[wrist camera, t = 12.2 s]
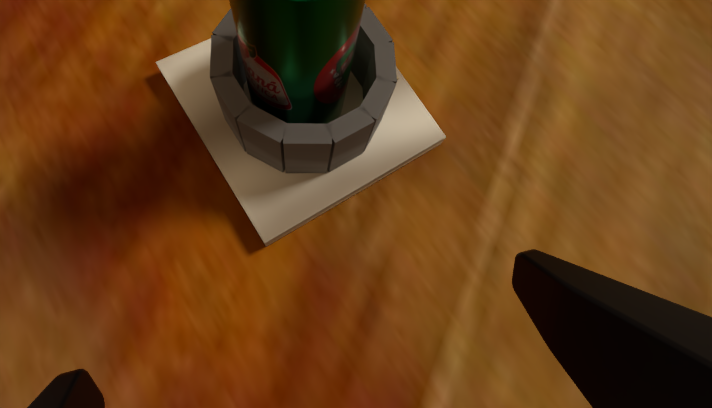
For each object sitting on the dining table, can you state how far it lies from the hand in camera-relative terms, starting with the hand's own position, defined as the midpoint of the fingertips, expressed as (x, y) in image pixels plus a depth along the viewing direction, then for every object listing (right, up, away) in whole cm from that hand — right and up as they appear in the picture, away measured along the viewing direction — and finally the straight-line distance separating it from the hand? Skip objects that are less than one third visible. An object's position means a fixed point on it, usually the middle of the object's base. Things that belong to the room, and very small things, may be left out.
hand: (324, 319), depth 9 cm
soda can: (-3, +8, +15) cm, 17 cm away
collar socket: (-2, +8, +16) cm, 18 cm away
